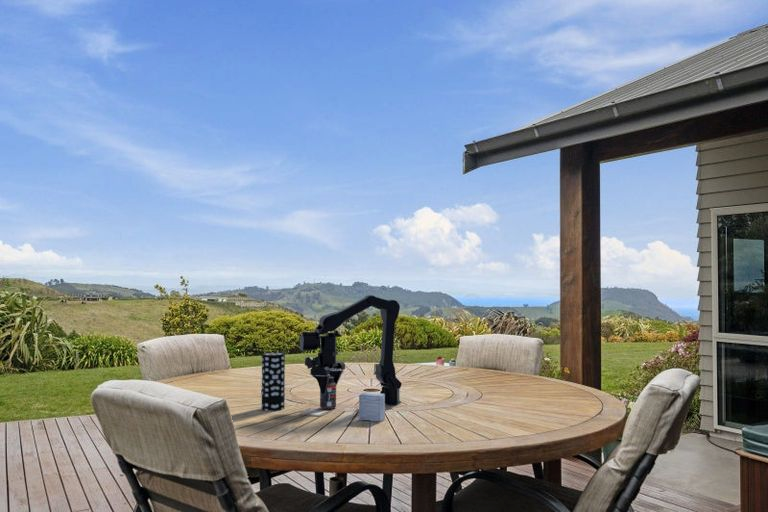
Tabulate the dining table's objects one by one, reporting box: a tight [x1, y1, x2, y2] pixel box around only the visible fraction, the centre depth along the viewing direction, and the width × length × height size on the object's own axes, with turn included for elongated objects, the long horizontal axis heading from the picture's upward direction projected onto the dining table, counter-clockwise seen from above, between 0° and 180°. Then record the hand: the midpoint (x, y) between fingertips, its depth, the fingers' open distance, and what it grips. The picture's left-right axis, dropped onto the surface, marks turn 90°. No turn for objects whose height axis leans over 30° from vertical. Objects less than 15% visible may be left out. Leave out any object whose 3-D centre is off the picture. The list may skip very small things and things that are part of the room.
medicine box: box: [358, 392, 386, 422], centre depth 206 cm, size 8×4×9 cm, turn 71°
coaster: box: [298, 409, 330, 417], centre depth 216 cm, size 8×8×1 cm
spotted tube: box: [261, 352, 286, 412], centre depth 225 cm, size 8×8×20 cm
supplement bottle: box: [319, 376, 337, 410], centre depth 226 cm, size 6×6×11 cm
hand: (328, 391), depth 226 cm, fingers open, 9 cm apart
